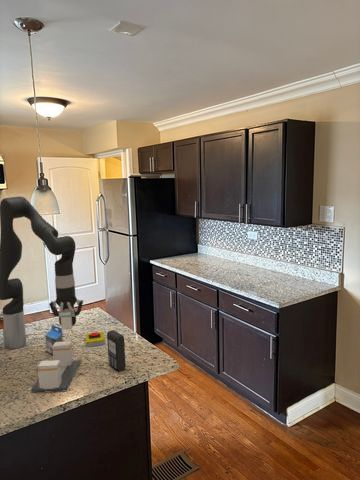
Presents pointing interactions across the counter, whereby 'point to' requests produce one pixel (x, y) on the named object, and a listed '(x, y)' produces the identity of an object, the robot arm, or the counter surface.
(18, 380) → the counter surface
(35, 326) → the counter surface
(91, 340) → the emergency button
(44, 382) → the mounted modules
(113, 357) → the black card payment terminal
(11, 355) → the counter surface
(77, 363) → the rail plate
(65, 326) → the block
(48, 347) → the label tape cartridge
